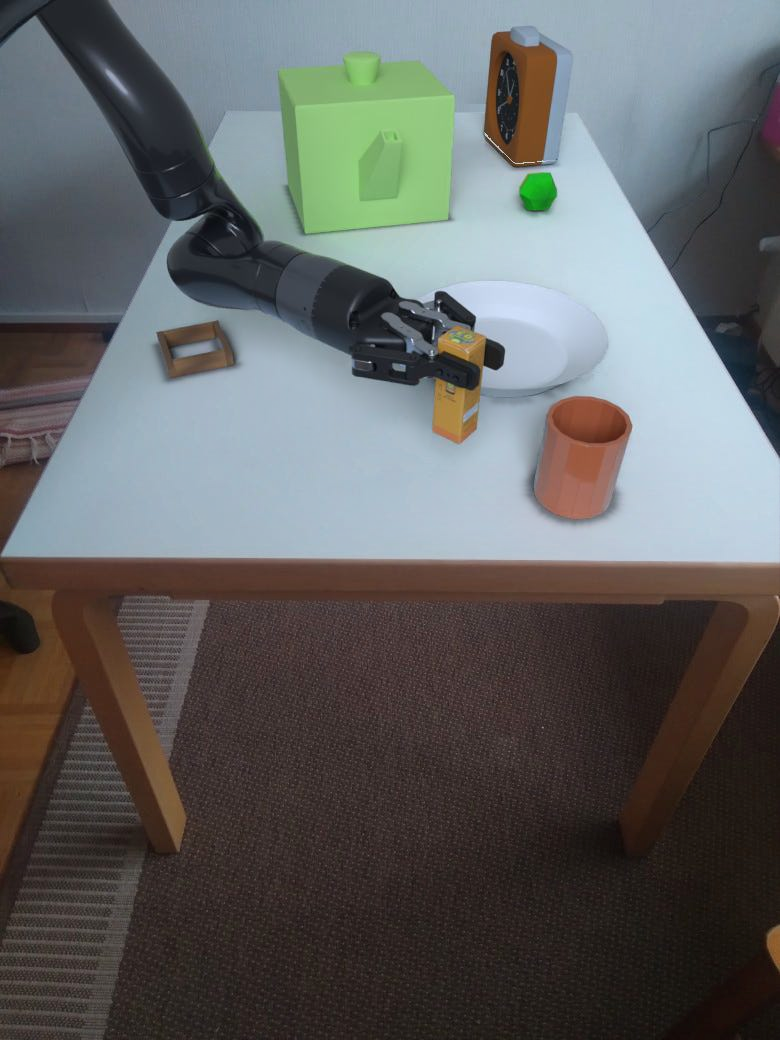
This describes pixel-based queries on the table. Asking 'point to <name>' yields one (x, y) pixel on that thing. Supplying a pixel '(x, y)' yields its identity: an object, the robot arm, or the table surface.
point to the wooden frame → (200, 360)
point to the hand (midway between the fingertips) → (489, 368)
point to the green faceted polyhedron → (538, 191)
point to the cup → (581, 456)
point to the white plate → (531, 334)
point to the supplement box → (451, 402)
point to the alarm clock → (527, 95)
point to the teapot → (367, 143)
